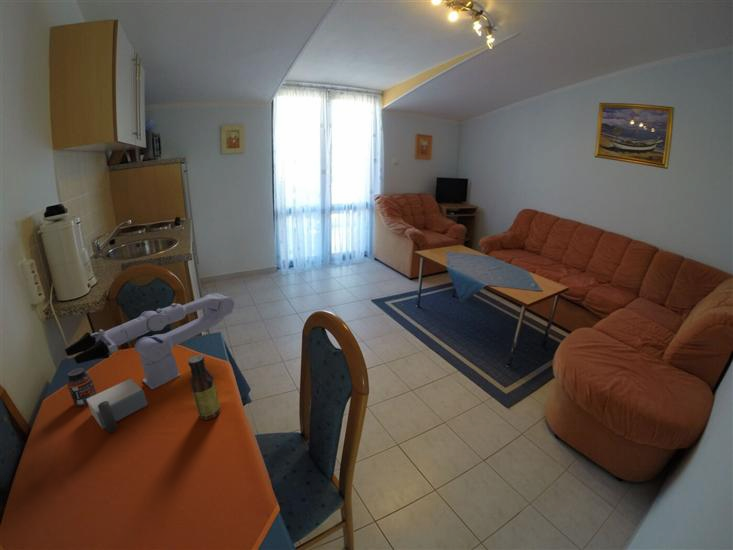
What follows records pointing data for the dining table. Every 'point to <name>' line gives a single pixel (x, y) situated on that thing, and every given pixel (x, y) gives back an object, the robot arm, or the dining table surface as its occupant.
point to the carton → (112, 396)
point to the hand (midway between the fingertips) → (70, 356)
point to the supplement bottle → (80, 386)
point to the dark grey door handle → (120, 410)
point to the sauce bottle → (203, 389)
